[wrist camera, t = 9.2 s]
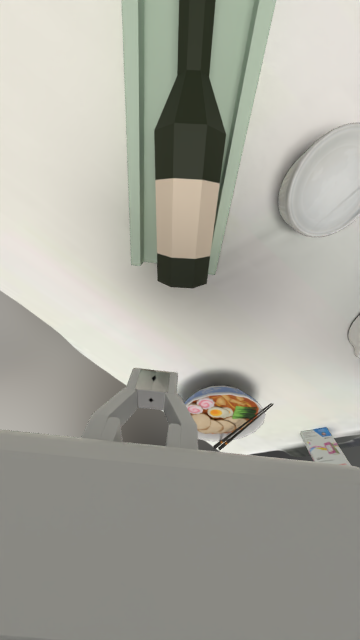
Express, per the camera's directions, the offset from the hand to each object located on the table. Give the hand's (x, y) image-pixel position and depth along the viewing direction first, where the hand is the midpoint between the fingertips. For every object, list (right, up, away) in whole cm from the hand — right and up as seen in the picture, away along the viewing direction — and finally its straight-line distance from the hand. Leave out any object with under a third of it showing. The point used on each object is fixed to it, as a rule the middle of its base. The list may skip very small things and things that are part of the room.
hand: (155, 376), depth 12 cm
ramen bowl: (+12, -19, +41) cm, 47 cm away
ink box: (+49, -36, +50) cm, 79 cm away
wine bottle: (+2, +10, +17) cm, 20 cm away
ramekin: (+21, +23, +14) cm, 34 cm away
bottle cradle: (+2, +27, +12) cm, 29 cm away
